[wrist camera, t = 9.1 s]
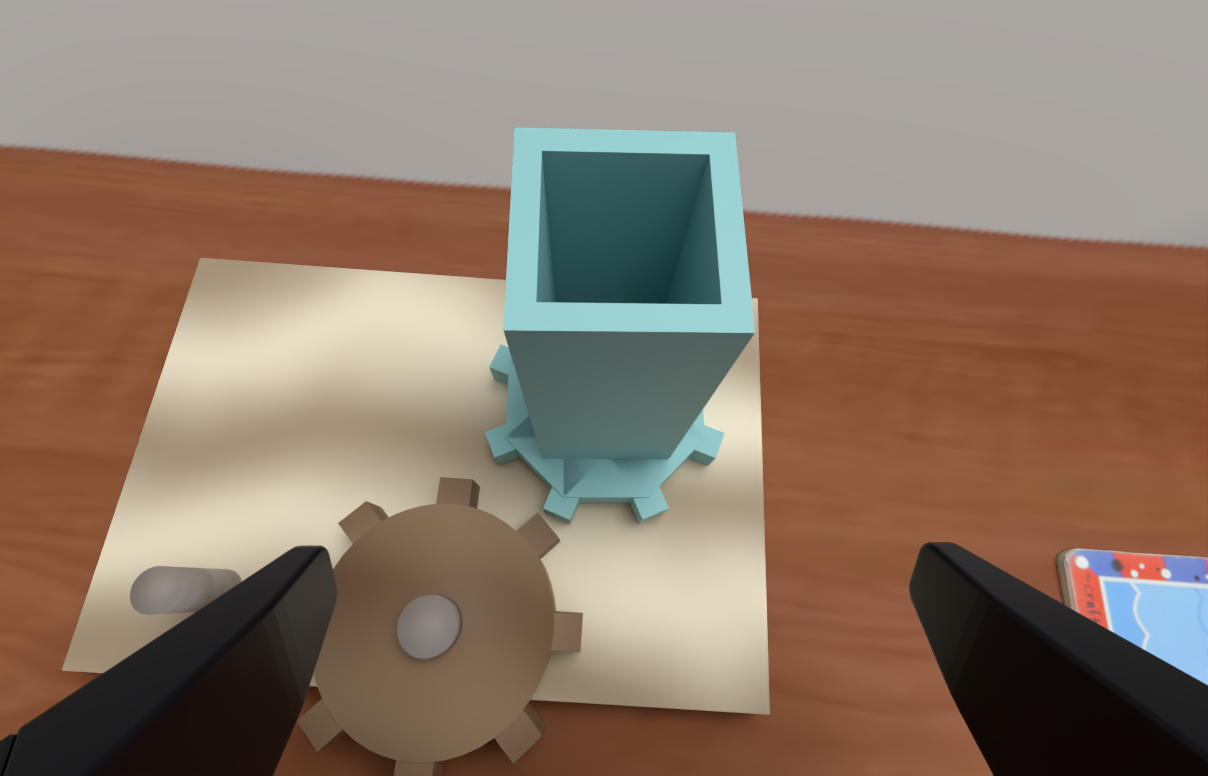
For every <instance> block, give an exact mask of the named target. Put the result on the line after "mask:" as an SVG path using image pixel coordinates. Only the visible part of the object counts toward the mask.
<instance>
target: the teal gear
mask: <svg viewBox="0 0 1208 776" xmlns="http://www.w3.org/2000/svg"><path fill="white" fill-rule="evenodd" d="M503 331H504V334H505V337H506V341H507V344H508V347H507V346H504V345H502V344H501V345H500V347H499V349H498V351H497V353H496V355H495V357H494V359H493V360H492V362H491V364H490V366H489V368H490V370H491V373H492V375H493V377H494V379H495V380H497V381H500V382H502V383H505V384H507V385H508V396H507V415H506V424H505V425H502V426H500V427H497V428H494V429H492V430H489V431H487V432H485V434H486V436H487V439H488V442H489V445H490V447H491V450H492V453H493V456H494V458H495V460H496V461H497V462H498V464H499V465H502V464H504V463H507V462H509V461H512V460H514V459H517V458H519V457H520V458H521V459H522V460H523V461H524V462H525V463H526V464H527V465H528V466H529V467H530V468H531V469H532V470H533V471H534V472H535V473H536V474H537V475H538V476H539V478H540V479H541V480H542V481H543V482H544V483H545V484H546V485H547V486H548V487H549V488H550V489H551V491H550V493H549V496H548V498H547V500H546V503H545V505H544V507H543V509H544V511H545V513H546V514H549V515H551V516H553V517H556V518H558V519H561V520H563V521H565V522H568V523H570V524H571V522H572V519H573V517H574V514H575V512H576V510H577V507H578V505H579V503H630V504H631V506H632V509H633V511H634V513H635V516H636V518H637V520H638V523H642V522H644V521H646V520H648V519H651V518H653V517H655V516H658V515H660V514H662V513H664V512H665V511H666V510H668V509H669V507H668V505H667V503H666V501H665V498H664V496H663V494H662V492H661V489H660V486H661V485H662V484H663V483H664V482H665V481H666V480H667V479H668V478H669V477H670V476H671V475H672V474H673V473H674V472H675V471H676V470H677V469H678V468H679V466H680V465H681V464H682V463H683V462H684V461H685V460H686V459H687V458H690V459H693V460H695V461H698V462H700V463H703V464H705V465H709V464H710V463H711V462H713V461H714V460H715V459H716V457H717V454H718V451H719V448H720V445H721V442H722V439H723V436H724V433H723V432H721V431H718V430H716V429H713V428H711V427H708V426H705V425H704V413H703V408H704V407H705V405H706V404H707V403H708V401H709V400H710V398H711V397H712V395H713V394H714V392H715V391H716V389H717V388H718V386H719V385H720V383H721V382H722V381H723V379H724V378H725V376H726V375H727V373H728V372H729V370H730V369H731V367H732V366H733V364H734V363H735V362H736V360H737V359H738V357H739V356H740V354H741V353H742V351H743V350H744V348H745V347H746V345H747V344H748V342H749V341H750V340H751V338H752V337H753V335H754V334H755V328H754V318H753V308H752V298H751V288H750V278H749V268H748V258H747V248H746V238H745V228H744V218H743V208H742V198H741V188H740V179H739V168H738V158H737V149H736V138H735V133H724V132H682V131H681V132H680V131H638V130H596V129H595V130H594V129H552V128H515V134H514V151H513V169H512V187H511V204H510V222H509V240H508V257H507V275H506V293H505V310H504V328H503Z"/></svg>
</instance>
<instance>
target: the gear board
mask: <svg viewBox="0 0 1208 776" xmlns="http://www.w3.org/2000/svg"><path fill="white" fill-rule="evenodd" d="M505 293H506V280H497V279H484V278H470V277H456V276H442V275H429V274H415V273H401V272H387V271H374V270H360V269H346V268H332V267H319V266H305V265H291V264H277V263H264V262H250V261H236V260H222V259H209V258H200V261H199V264H198V267H197V270H196V272H195V275H194V278H193V281H192V284H191V287H190V290H189V293H188V296H187V299H186V302H185V305H184V308H183V311H182V314H181V317H180V320H179V323H178V326H177V329H176V332H175V335H174V338H173V341H172V344H171V347H170V350H169V353H168V356H167V359H166V362H165V365H164V368H163V371H162V374H161V377H160V380H159V383H158V386H157V389H156V391H155V394H154V397H153V400H152V403H151V406H150V409H149V412H148V415H147V418H146V421H145V424H144V427H143V430H142V433H141V436H140V439H139V442H138V445H137V448H136V451H135V454H134V457H133V460H132V463H131V466H130V469H129V472H128V475H127V478H126V481H125V484H124V487H123V490H122V493H121V496H120V499H119V502H118V505H117V508H116V510H115V513H114V516H113V519H112V522H111V525H110V528H109V531H108V534H107V537H106V540H105V543H104V546H103V549H102V552H101V555H100V558H99V561H98V564H97V567H96V570H95V573H94V576H93V579H92V582H91V585H90V588H89V591H88V594H87V597H86V600H85V603H84V606H83V609H82V612H81V615H80V618H79V621H78V624H77V627H76V629H75V632H74V635H73V638H72V641H71V644H70V647H69V650H68V653H67V656H66V659H65V662H64V665H63V668H62V671H78V672H94V673H104V672H105V671H107V670H109V669H110V668H112V667H113V666H115V665H116V664H118V663H119V662H121V661H122V660H124V659H125V658H127V657H128V656H130V655H131V654H133V653H134V652H136V651H137V650H139V649H140V648H142V647H143V646H145V645H146V644H148V643H149V642H151V641H152V640H154V639H155V638H157V637H158V636H160V635H161V634H163V633H164V632H166V631H168V630H169V629H171V628H172V627H174V626H175V625H177V624H178V623H180V622H181V621H183V620H184V619H186V618H187V617H189V616H190V615H192V614H193V613H195V612H196V611H198V610H199V609H201V608H202V607H204V606H205V605H207V604H208V603H210V602H211V601H213V600H214V599H216V598H217V597H219V596H220V595H222V594H223V593H225V592H226V591H228V590H229V589H231V588H233V587H234V586H236V585H237V584H239V583H240V582H242V581H243V580H245V579H246V578H248V577H249V576H251V575H252V574H254V573H255V572H257V571H258V570H260V569H261V568H263V567H264V566H266V565H267V564H269V563H270V562H272V561H273V560H275V559H276V558H278V557H279V556H281V555H282V554H284V553H285V552H287V551H288V550H290V549H292V548H293V547H296V546H301V545H321V546H324V547H325V548H326V549H327V550H328V552H329V555H330V560H331V564H332V568H333V573H334V577H335V581H336V586H337V599H336V604H335V607H334V611H333V614H332V617H331V620H330V623H329V626H328V629H327V633H326V636H325V639H324V642H323V645H322V648H321V652H320V655H319V658H318V661H317V664H316V667H315V670H314V674H313V677H312V680H311V683H310V686H317V687H318V689H319V692H320V695H321V697H322V699H321V700H320V701H319V702H318V703H316V704H315V705H314V706H313V707H312V708H311V709H309V710H308V711H307V712H306V713H305V714H304V715H302V716H301V717H300V718H299V719H298V720H297V722H298V724H299V725H300V727H301V728H302V730H303V731H304V733H305V735H306V736H307V738H308V739H309V741H310V742H311V744H312V745H313V747H314V749H315V750H316V752H318V751H320V750H322V749H323V748H325V747H326V746H328V745H330V744H331V743H333V742H334V741H336V740H338V739H339V738H340V737H341V736H342V735H343V734H344V733H347V734H348V735H349V736H350V737H351V738H352V739H353V740H355V741H356V742H358V743H359V744H361V745H362V746H363V747H365V748H366V749H368V750H370V751H373V752H375V753H377V754H379V755H381V756H384V757H387V758H391V759H394V760H396V764H395V771H394V776H442V771H443V763H444V760H449V759H452V758H455V757H458V756H461V755H464V754H467V753H469V752H471V751H473V750H475V749H477V748H479V747H481V746H483V745H484V744H486V743H487V742H489V741H490V740H492V739H493V738H495V740H496V741H497V743H498V744H499V745H500V747H501V748H502V749H503V751H504V752H505V753H506V755H507V756H508V758H509V759H510V760H511V762H512V763H513V764H514V763H515V762H516V761H517V760H518V759H519V758H520V757H521V756H522V755H523V754H524V753H525V752H526V751H527V750H528V749H529V748H530V747H531V746H532V745H533V744H534V743H535V742H536V741H537V740H538V739H539V738H540V737H541V736H542V735H543V731H544V727H545V723H544V722H543V720H542V719H541V718H540V716H539V715H538V714H537V712H536V711H535V710H534V708H533V707H532V706H531V704H530V703H529V701H530V700H544V701H560V702H576V703H592V704H608V705H624V706H640V707H656V708H672V709H688V710H704V711H720V712H736V713H753V714H769V715H770V705H769V671H768V637H767V603H766V569H765V535H764V501H763V467H762V434H761V400H760V366H759V332H758V298H752V308H753V318H754V328H755V334H754V335H753V337H752V338H751V340H750V341H749V342H748V344H747V345H746V347H745V348H744V350H743V351H742V353H741V354H740V356H739V357H738V359H737V360H736V362H735V363H734V364H733V366H732V367H731V369H730V370H729V372H728V373H727V375H726V376H725V378H724V379H723V381H722V382H721V383H720V385H719V386H718V388H717V389H716V391H715V392H714V394H713V395H712V397H711V398H710V400H709V401H708V403H707V404H706V405H705V407H704V408H703V413H704V425H705V426H708V427H711V428H713V429H716V430H718V431H721V432H723V433H724V436H723V439H722V442H721V445H720V448H719V451H718V454H717V457H716V459H715V460H714V461H713V462H711V463H710V464H709V465H705V464H703V463H700V462H698V461H695V460H693V459H690V458H687V459H686V460H685V461H684V462H683V463H682V464H681V465H680V466H679V468H678V469H677V470H676V471H675V472H674V473H673V474H672V475H671V476H670V477H669V478H668V479H667V480H666V481H665V482H664V483H663V484H662V485H661V486H660V489H661V492H662V494H663V496H664V498H665V501H666V503H667V505H668V507H669V509H668V510H666V511H665V512H664V513H662V514H660V515H658V516H655V517H653V518H651V519H648V520H646V521H644V522H642V523H638V520H637V518H636V516H635V513H634V511H633V509H632V506H631V504H630V503H579V505H578V507H577V510H576V512H575V514H574V517H573V519H572V522H571V524H570V523H568V522H565V521H563V520H561V519H558V518H556V517H553V516H551V515H549V514H546V513H545V511H544V509H543V507H544V505H545V503H546V500H547V498H548V496H549V493H550V491H551V489H550V488H549V487H548V486H547V485H546V484H545V483H544V482H543V481H542V480H541V479H540V478H539V476H538V475H537V474H536V473H535V472H534V471H533V470H532V469H531V468H530V467H529V466H528V465H527V464H526V463H525V462H524V461H523V460H522V459H521V458H520V457H519V458H517V459H514V460H512V461H509V462H507V463H504V464H502V465H499V464H498V462H497V461H496V460H495V458H494V456H493V453H492V450H491V447H490V445H489V442H488V439H487V436H486V434H485V432H487V431H489V430H492V429H494V428H497V427H500V426H502V425H505V424H506V415H507V396H508V385H507V384H505V383H502V382H500V381H497V380H495V379H494V377H493V375H492V373H491V370H490V368H489V366H490V364H491V362H492V360H493V359H494V357H495V355H496V353H497V351H498V349H499V347H500V345H501V344H502V345H504V346H507V347H508V344H507V341H506V337H505V334H504V331H503V328H504V310H505Z"/></svg>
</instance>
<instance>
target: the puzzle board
mask: <svg viewBox="0 0 1208 776" xmlns="http://www.w3.org/2000/svg"><path fill="white" fill-rule="evenodd" d="M1056 565H1057V571H1058V576H1059V582H1060V588H1061V594H1062V599H1063V604H1064V605H1066V606H1067V607H1069V608H1071V609H1073V610H1074V611H1076V612H1078V613H1080V614H1082V615H1083V616H1085V617H1087V618H1089V619H1091V620H1092V621H1094V622H1096V623H1098V624H1099V625H1101V626H1103V627H1105V628H1107V629H1108V630H1110V631H1112V632H1114V633H1116V634H1117V635H1119V636H1121V637H1123V638H1125V639H1126V640H1128V641H1130V642H1132V643H1133V644H1135V645H1137V646H1139V647H1141V648H1142V649H1144V650H1146V651H1148V652H1150V653H1151V654H1153V655H1155V656H1157V657H1158V658H1160V659H1162V660H1164V661H1166V662H1167V663H1169V664H1171V665H1173V666H1175V667H1176V668H1178V669H1180V670H1182V671H1183V672H1185V673H1187V674H1189V675H1191V676H1192V677H1194V678H1196V679H1198V680H1200V681H1201V682H1203V683H1205V684H1207V685H1208V558H1206V557H1193V556H1178V555H1162V554H1145V553H1129V552H1119V551H1105V550H1091V549H1079V548H1077V549H1072V550H1065V551H1062V552H1060V553H1059V554H1058V555H1057V558H1056Z"/></svg>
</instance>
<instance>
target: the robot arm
mask: <svg viewBox="0 0 1208 776" xmlns="http://www.w3.org/2000/svg"><path fill="white" fill-rule="evenodd" d="M909 592H910V597H911V600H912V603H913V605H914V608H915V610H916V612H917V615H918V617H919V620H920V622H921V624H922V627H923V629H924V632H925V634H926V637H927V639H928V641H929V644H930V646H931V649H932V651H933V653H934V656H935V658H936V661H937V663H938V665H939V668H940V670H941V673H942V675H943V677H944V680H945V682H946V684H947V686H948V689H949V691H950V693H951V695H952V697H953V699H954V701H955V703H956V705H957V707H958V709H959V711H960V713H961V715H962V717H963V719H964V721H965V723H966V725H967V726H968V728H969V730H970V732H971V734H972V736H973V738H974V740H975V741H976V743H977V745H978V747H979V749H980V751H981V753H982V755H983V757H984V758H985V760H986V762H987V764H988V766H989V768H990V770H991V772H992V773H993V775H994V776H1208V685H1207V684H1205V683H1203V682H1201V681H1200V680H1198V679H1196V678H1194V677H1192V676H1191V675H1189V674H1187V673H1185V672H1183V671H1182V670H1180V669H1178V668H1176V667H1175V666H1173V665H1171V664H1169V663H1167V662H1166V661H1164V660H1162V659H1160V658H1158V657H1157V656H1155V655H1153V654H1151V653H1150V652H1148V651H1146V650H1144V649H1142V648H1141V647H1139V646H1137V645H1135V644H1133V643H1132V642H1130V641H1128V640H1126V639H1125V638H1123V637H1121V636H1119V635H1117V634H1116V633H1114V632H1112V631H1110V630H1108V629H1107V628H1105V627H1103V626H1101V625H1099V624H1098V623H1096V622H1094V621H1092V620H1091V619H1089V618H1087V617H1085V616H1083V615H1082V614H1080V613H1078V612H1076V611H1074V610H1073V609H1071V608H1069V607H1067V606H1066V605H1064V604H1062V603H1060V602H1058V601H1057V600H1055V599H1053V598H1051V597H1049V596H1048V595H1046V594H1044V593H1042V592H1041V591H1039V590H1037V589H1035V588H1033V587H1032V586H1030V585H1028V584H1026V583H1025V582H1023V581H1021V580H1019V579H1017V578H1016V577H1014V576H1012V575H1010V574H1008V573H1007V572H1005V571H1003V570H1001V569H1000V568H998V567H996V566H994V565H992V564H991V563H989V562H987V561H985V560H983V559H982V558H980V557H978V556H976V555H975V554H973V553H971V552H969V551H967V550H966V549H964V548H962V547H960V546H958V545H957V544H954V543H950V542H929V543H926V544H924V545H923V546H922V547H921V549H920V551H919V554H918V558H917V561H916V564H915V567H914V570H913V573H912V576H911V579H910V584H909ZM336 599H337V586H336V581H335V577H334V573H333V568H332V564H331V560H330V555H329V552H328V550H327V549H326V548H325V547H324V546H321V545H301V546H296V547H293V548H292V549H290V550H288V551H287V552H285V553H284V554H282V555H281V556H279V557H278V558H276V559H275V560H273V561H272V562H270V563H269V564H267V565H266V566H264V567H263V568H261V569H260V570H258V571H257V572H255V573H254V574H252V575H251V576H249V577H248V578H246V579H245V580H243V581H242V582H240V583H239V584H237V585H236V586H234V587H233V588H231V589H229V590H228V591H226V592H225V593H223V594H222V595H220V596H219V597H217V598H216V599H214V600H213V601H211V602H210V603H208V604H207V605H205V606H204V607H202V608H201V609H199V610H198V611H196V612H195V613H193V614H192V615H190V616H189V617H187V618H186V619H184V620H183V621H181V622H180V623H178V624H177V625H175V626H174V627H172V628H171V629H169V630H168V631H166V632H164V633H163V634H161V635H160V636H158V637H157V638H155V639H154V640H152V641H151V642H149V643H148V644H146V645H145V646H143V647H142V648H140V649H139V650H137V651H136V652H134V653H133V654H131V655H130V656H128V657H127V658H125V659H124V660H122V661H121V662H119V663H118V664H116V665H115V666H113V667H112V668H110V669H109V670H107V671H105V672H104V673H102V674H101V675H99V676H98V677H96V678H95V679H93V680H92V681H90V682H89V683H87V684H86V685H84V686H83V687H81V688H80V689H78V690H77V691H75V692H74V693H72V694H71V695H69V696H68V697H66V698H65V699H63V700H62V701H60V702H59V703H57V704H56V705H54V706H52V707H51V708H49V709H48V710H46V711H45V712H43V713H42V714H40V715H39V716H37V717H36V718H34V719H33V720H31V721H30V722H28V723H27V724H25V725H24V726H22V727H21V728H20V729H19V730H18V733H17V734H10V735H8V736H7V737H5V738H4V739H2V740H1V741H0V776H273V774H274V772H275V770H276V767H277V765H278V763H279V760H280V758H281V756H282V753H283V751H284V749H285V747H286V744H287V742H288V740H289V737H290V735H291V733H292V731H293V728H294V726H295V724H296V721H297V719H298V716H299V714H300V711H301V709H302V706H303V704H304V701H305V698H306V695H307V692H308V689H309V686H310V683H311V680H312V677H313V674H314V670H315V667H316V664H317V661H318V658H319V655H320V652H321V648H322V645H323V642H324V639H325V636H326V633H327V629H328V626H329V623H330V620H331V617H332V614H333V611H334V607H335V604H336Z"/></svg>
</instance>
